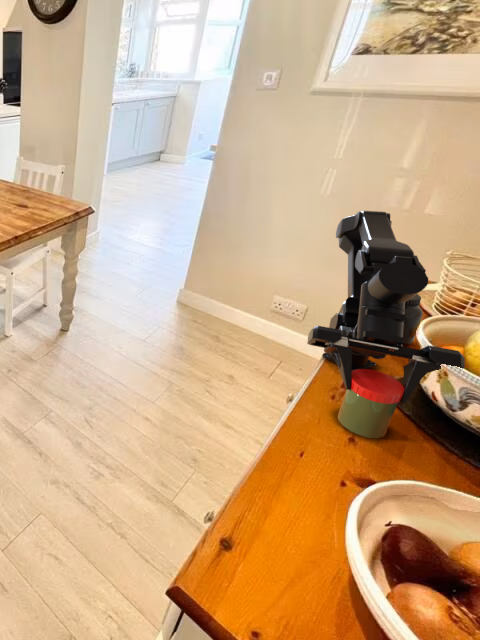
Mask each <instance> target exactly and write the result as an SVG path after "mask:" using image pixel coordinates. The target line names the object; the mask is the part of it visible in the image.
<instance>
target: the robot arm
mask: <svg viewBox="0 0 480 640" xmlns="http://www.w3.org/2000/svg"><path fill="white" fill-rule="evenodd" d="M392 224H393V223H392V220H391V213H390V212H386V211H377V210H361V211H357V212H356V214H353V215H350V216H346V217H343V218H342V219H341V220H340V221H339V222H338V224H337V227H336V231H335V238H336V239H338V247H339V249H340V250H342V251H343V252H344V253H345V254H346V255H347V298H346V299H345V301H344V302H343V303H342V305H341V307H340V309H339V311H338V312H336V313H335V314H334V315H333V316H332V317H331V318H330V321H329V326H322V325H316V326H314V327H312V328H311V330H310V331H309V333H308V335H307V345H309V346H313V347H317V348H322V349H323V352H324V353H322V355H321V356H322V357H323V358H325V359H326V360H327V361H329V362H331V363H333V364H335V365H336V366H337V368H338V371H339V373H340V376H341V379H342V382H343V385H344V389H345V391H346V390H350V387H351V381H352V371H353V370H356V369H372V368H375V367H376V366H377V363H376V362H374V361H372V360H370V358H372V359H376V360H382V359H385V358H386V356H392V357H398V358H403V359H406V360H408V361H407V364H405V365H402V369H403V376H402V380H401V384H402V385H403V387H404V394H403V396H402V399H401V400H400V402H399V403H400V404H405V403H406V402H407V401H408V400H409V398H410V396H411V395H412V393H413V392H414V390H415V389H416V387H417V386H418V384H419V383H420V382H421V380H423V378H424V377H425V376H426V375H427V374H429V373H432V372H435V371H436V370H439V369H441V366H440V365H441V364H446V365H451V366H457V367H460V368H462V369H461V370H463V369H465V367H466V366H465V365H466V363H465V362H466V361H465V360H466V358H465V356H464V355H463V354H462V353H461V352H460V350H457V349H451V348H445V347H439V346H434V345H427V346H424V347H423V348H420V349H418V348H412V347H402V344H404V338H403V326H404V321H405V317H406V315H404V310H405V302H406V301H408V300H410V299H411V298H412V297H414V296H415V295H416V294H418V295H419V293H420V292H422V291H423V290H424V289H426V287H428V284H429V277H428V276H427V273H426V271H427V270H426V269H425V267H424V266H423V265H422V262H420V260H419V257H418V256H417V255H416V254H415V252H414V251H413V249H412V248H411V247H410V245H408V244H406V243H405V242H401V241H398V240H397V238H396V235H395V232H394V231H393V228H392Z"/></svg>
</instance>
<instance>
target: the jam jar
mask: <svg viewBox="0 0 480 640" xmlns="http://www.w3.org/2000/svg"><path fill="white" fill-rule="evenodd" d="M398 403H399V402H397V403H393V404H385V403H379V402H375V401H371V400H369V399H366V398H364V397H362V396H360V395H358V394H357V393H355V392H354V391H353V390H352V389H351V388H350V390H346V389H345V391H344V395H343V398H342V401H341V404H340V408H339V410H338V413H337V420H338V422H339V423H340V424H341V426H343V427H344V428H345V429H347V430H348V431H349V432H351V433H354V434H356V435H358V436H361V437H364V438H368V439H379V438H383V437H385V436H386V434H387V431H388V429H389V426H390V424H391V421H392V419H393V417H394V413H395V411H396V409H397V406H398Z"/></svg>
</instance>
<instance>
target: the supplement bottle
mask: <svg viewBox="0 0 480 640" xmlns="http://www.w3.org/2000/svg"><path fill="white" fill-rule="evenodd" d="M421 300H422V296H421V295H420V294H419V293H418V294H416V295H415V296H414V297H412V298H411V299H410V300H408V301H406V302H405V310H404V315H406V317H405V321H404V326H403V338H404V344H402V347H407V348H410V347H411V346H412V345H413V343H414V341H415V339H416V335H417V333H416V330H417V327H418V326H419V327H420V324H421V321H422V320H423V319H422V318H423V315H424V312H423V309H422V308H421V307H420V305H421ZM419 327H418V328H419ZM417 331H418V330H417Z"/></svg>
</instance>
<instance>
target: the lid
mask: <svg viewBox="0 0 480 640" xmlns="http://www.w3.org/2000/svg"><path fill="white" fill-rule="evenodd" d="M350 388H351V389H352V390H353V391H354V392H355V393H357V394H358V395H360V396H362V397H364V398H366V399H369V400H371V401H375V402H379V403H385V404H393V403H397V402H398V403H400V400H401V399H402V396H403V394H404V387H403V385H402V382H400V381H399V380H398V379H397V378H395V377H393V376H392V375H388V374H387V373H384V372H381V371H378V370H374V369H371V368H369V369H356V370H353V371H352V381H351V387H350Z"/></svg>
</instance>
